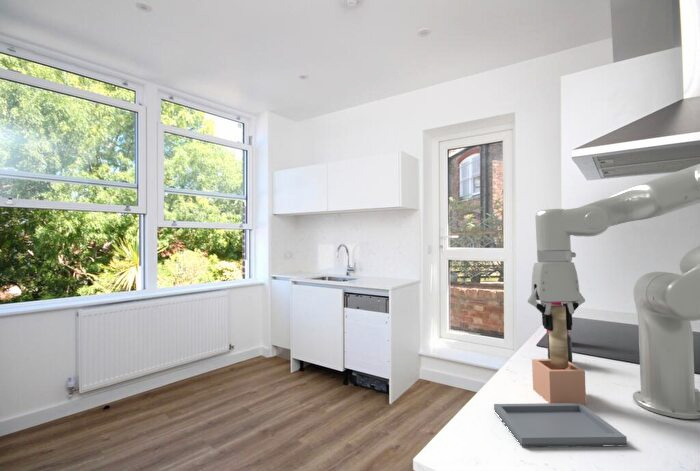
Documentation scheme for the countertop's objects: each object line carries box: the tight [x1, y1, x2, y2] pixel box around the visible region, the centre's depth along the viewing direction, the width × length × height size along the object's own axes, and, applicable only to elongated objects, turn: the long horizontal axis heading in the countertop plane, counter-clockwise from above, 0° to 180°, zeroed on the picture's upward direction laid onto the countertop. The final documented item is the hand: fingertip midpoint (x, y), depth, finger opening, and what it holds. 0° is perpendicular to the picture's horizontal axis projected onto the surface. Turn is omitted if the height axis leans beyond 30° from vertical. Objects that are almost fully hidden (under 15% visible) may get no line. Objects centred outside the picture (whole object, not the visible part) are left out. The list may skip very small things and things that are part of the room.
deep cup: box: [531, 358, 587, 405], centre depth 89 cm, size 8×8×8 cm
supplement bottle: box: [546, 330, 573, 364], centre depth 113 cm, size 7×7×12 cm
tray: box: [493, 402, 628, 448], centre depth 75 cm, size 20×14×2 cm
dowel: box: [549, 305, 569, 368], centre depth 89 cm, size 4×4×15 cm
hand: (557, 328), depth 89 cm, fingers closed on dowel, 4 cm apart
